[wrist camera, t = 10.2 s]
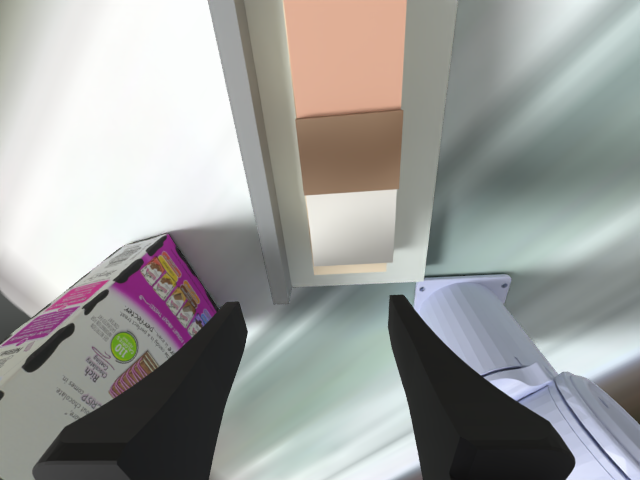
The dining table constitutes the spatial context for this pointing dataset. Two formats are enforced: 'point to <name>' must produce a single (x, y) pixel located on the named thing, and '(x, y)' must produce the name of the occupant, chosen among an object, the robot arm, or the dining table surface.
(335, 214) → the white cube
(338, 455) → the dining table surface
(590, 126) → the dining table surface
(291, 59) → the salmon pink cube
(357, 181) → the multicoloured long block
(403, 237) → the dock
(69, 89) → the dining table surface
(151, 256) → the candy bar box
